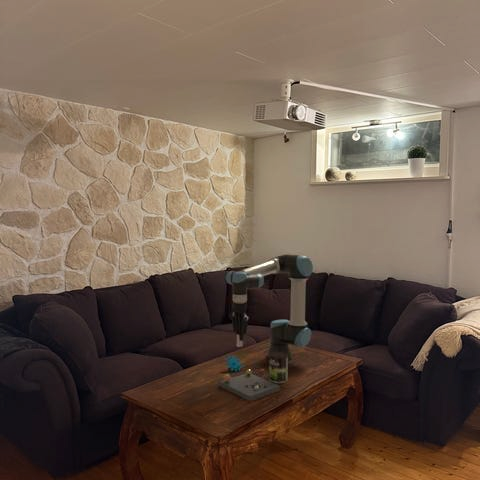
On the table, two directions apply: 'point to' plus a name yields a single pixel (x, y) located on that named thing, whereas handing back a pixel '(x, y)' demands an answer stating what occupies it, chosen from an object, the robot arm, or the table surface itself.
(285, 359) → the coffee can
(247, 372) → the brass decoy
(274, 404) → the table surface
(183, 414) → the table surface
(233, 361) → the gear
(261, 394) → the plate
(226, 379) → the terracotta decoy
